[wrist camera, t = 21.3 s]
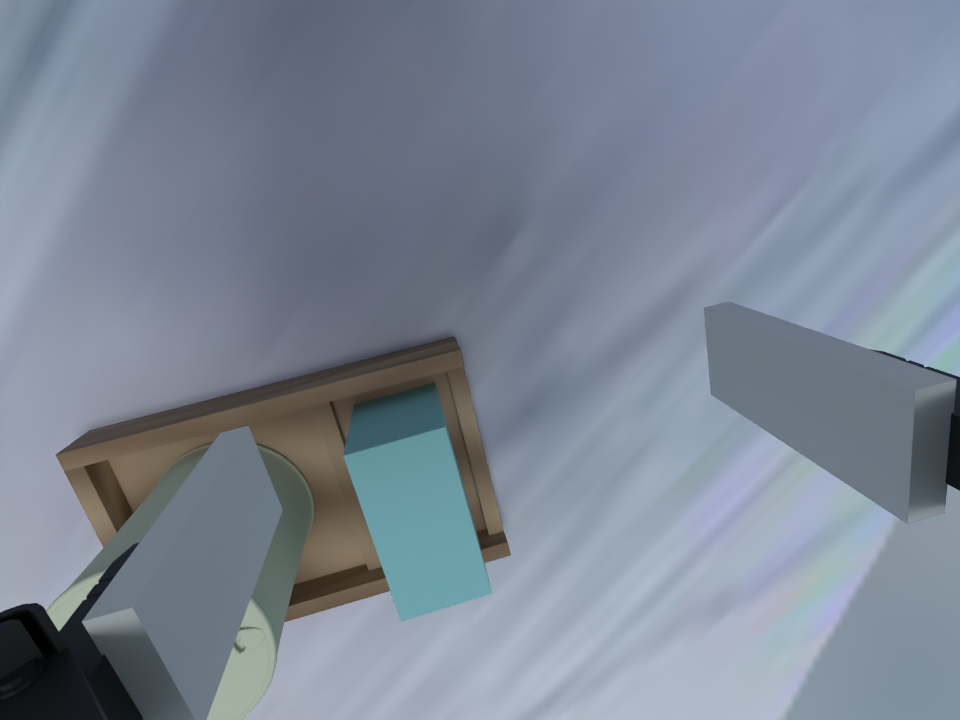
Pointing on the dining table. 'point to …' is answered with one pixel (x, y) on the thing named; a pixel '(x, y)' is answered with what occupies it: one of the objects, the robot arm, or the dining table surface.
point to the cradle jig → (295, 461)
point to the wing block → (415, 501)
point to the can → (271, 594)
